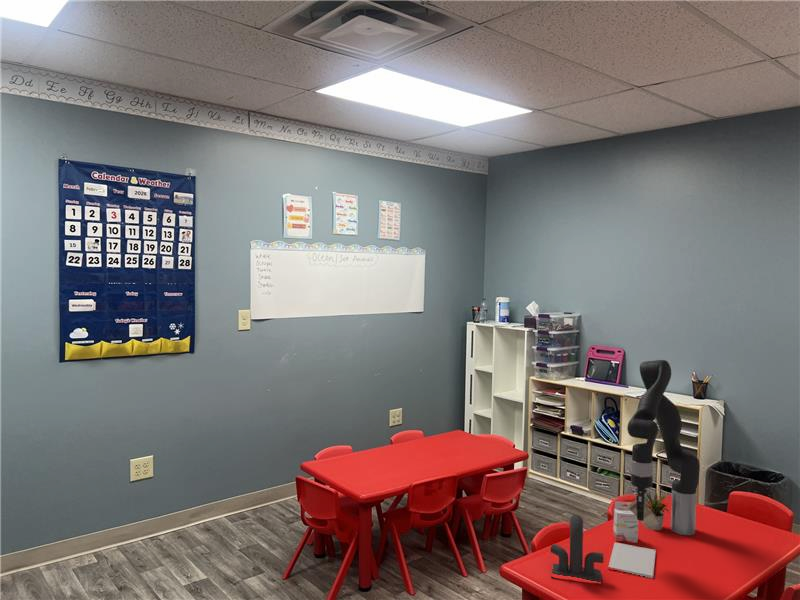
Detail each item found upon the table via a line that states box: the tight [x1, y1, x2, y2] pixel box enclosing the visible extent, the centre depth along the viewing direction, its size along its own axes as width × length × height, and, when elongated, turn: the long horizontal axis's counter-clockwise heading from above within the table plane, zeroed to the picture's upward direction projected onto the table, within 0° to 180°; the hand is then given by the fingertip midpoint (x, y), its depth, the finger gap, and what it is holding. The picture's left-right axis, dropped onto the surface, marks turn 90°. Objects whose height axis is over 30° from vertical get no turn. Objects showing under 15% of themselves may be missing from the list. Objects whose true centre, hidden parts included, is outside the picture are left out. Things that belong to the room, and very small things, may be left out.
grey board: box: [607, 541, 657, 579], centre depth 225 cm, size 22×15×1 cm
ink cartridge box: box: [612, 501, 639, 543], centre depth 242 cm, size 9×5×15 cm, turn 84°
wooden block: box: [629, 499, 659, 531], centre depth 223 cm, size 4×4×10 cm
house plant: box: [646, 488, 671, 531], centre depth 254 cm, size 14×14×16 cm
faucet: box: [550, 513, 604, 583], centre depth 217 cm, size 18×16×20 cm
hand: (640, 517), depth 224 cm, fingers closed on wooden block, 4 cm apart
